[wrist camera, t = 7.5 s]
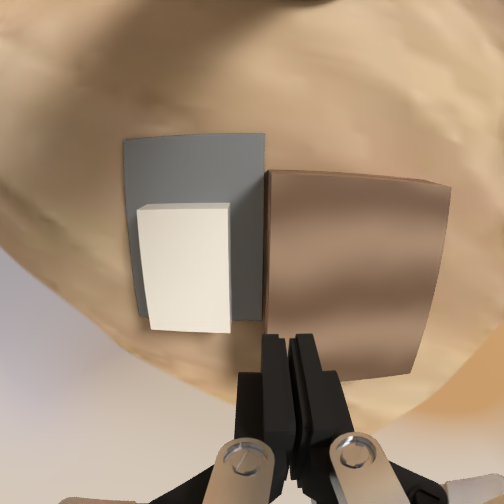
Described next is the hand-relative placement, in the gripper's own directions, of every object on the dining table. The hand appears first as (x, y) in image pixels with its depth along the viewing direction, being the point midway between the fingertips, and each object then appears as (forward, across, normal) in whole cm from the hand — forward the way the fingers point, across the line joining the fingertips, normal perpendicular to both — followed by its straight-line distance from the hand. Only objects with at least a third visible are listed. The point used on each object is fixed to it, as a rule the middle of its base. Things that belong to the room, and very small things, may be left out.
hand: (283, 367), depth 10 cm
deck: (+13, -6, +2) cm, 15 cm away
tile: (+11, +6, +2) cm, 12 cm away
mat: (+13, +5, 0) cm, 14 cm away
